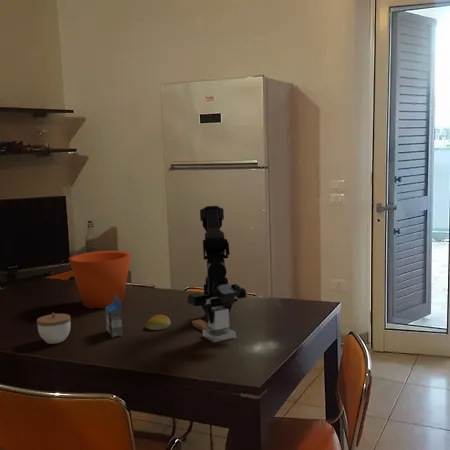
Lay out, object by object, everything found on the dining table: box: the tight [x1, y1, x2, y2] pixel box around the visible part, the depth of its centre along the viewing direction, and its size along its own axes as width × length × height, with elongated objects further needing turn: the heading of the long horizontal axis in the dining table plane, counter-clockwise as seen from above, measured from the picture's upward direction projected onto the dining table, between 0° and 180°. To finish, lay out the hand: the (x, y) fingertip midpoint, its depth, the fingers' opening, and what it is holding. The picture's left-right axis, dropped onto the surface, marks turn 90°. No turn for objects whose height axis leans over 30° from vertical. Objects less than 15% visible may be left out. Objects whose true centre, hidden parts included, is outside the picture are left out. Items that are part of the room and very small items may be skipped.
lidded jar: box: [36, 312, 72, 345], centre depth 193 cm, size 11×11×9 cm
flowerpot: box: [68, 250, 132, 309], centre depth 239 cm, size 25×25×20 cm
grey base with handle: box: [191, 318, 237, 343], centre depth 195 cm, size 21×8×5 cm, turn 29°
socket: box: [207, 306, 230, 330], centre depth 189 cm, size 5×5×6 cm
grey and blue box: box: [104, 295, 124, 338], centre depth 198 cm, size 9×4×12 cm, turn 23°
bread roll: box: [145, 314, 171, 331], centre depth 204 cm, size 8×9×4 cm
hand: (218, 321), depth 189 cm, fingers closed on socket, 5 cm apart
